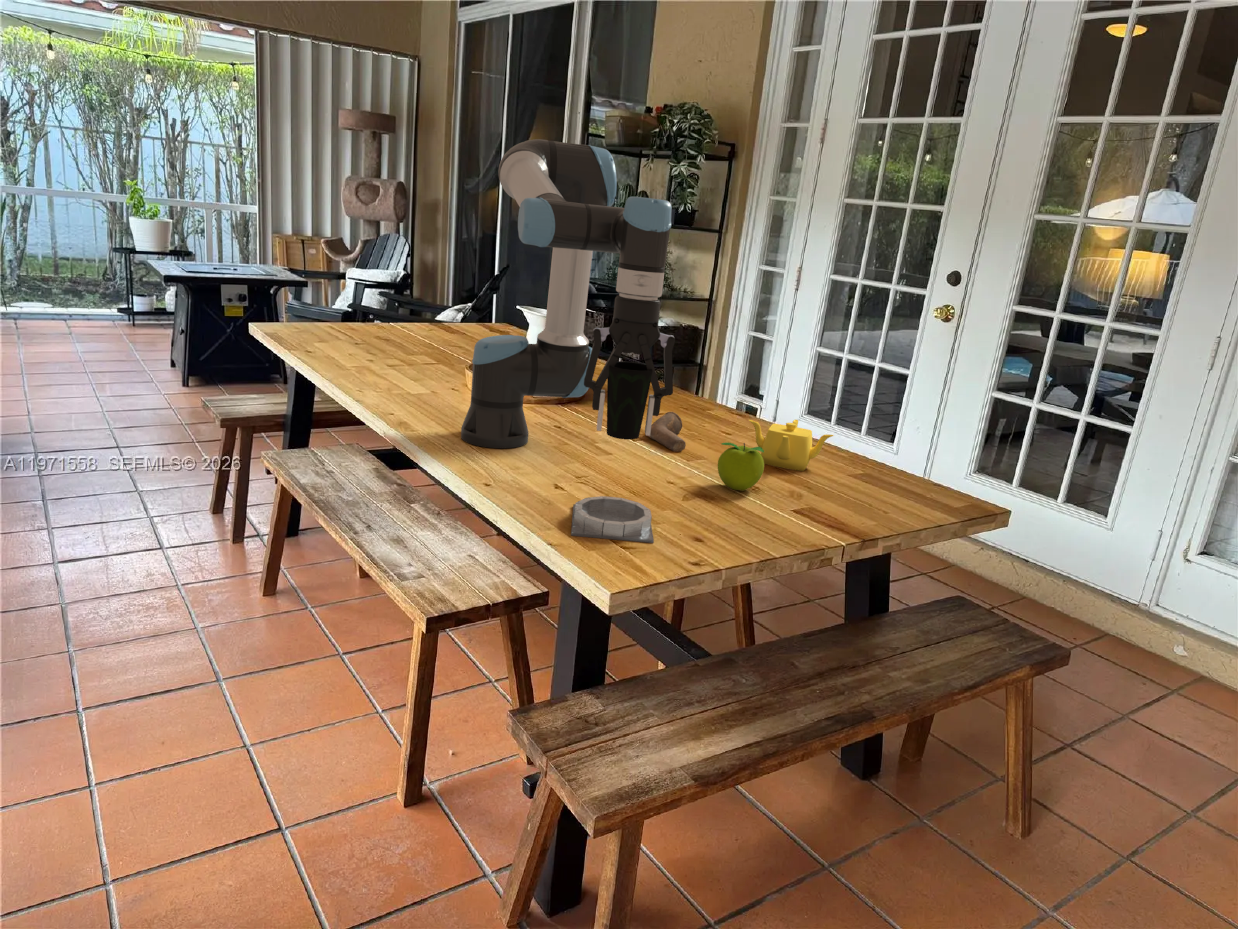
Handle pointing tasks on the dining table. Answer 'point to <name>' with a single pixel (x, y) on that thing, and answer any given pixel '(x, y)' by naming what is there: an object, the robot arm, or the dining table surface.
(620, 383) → the cup
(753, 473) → the fruit
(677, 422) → the pipe
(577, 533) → the duct collar
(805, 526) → the dining table surface
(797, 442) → the teapot
